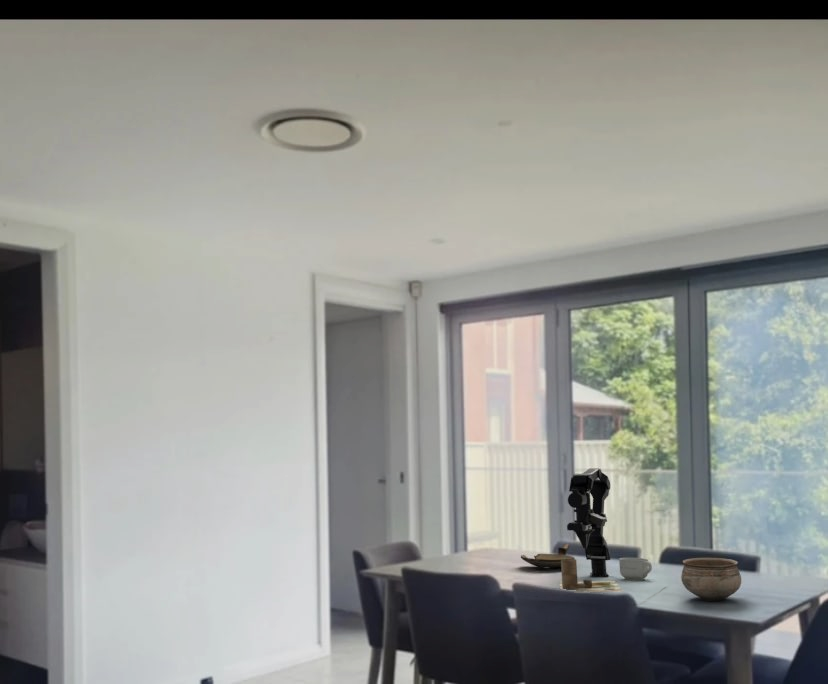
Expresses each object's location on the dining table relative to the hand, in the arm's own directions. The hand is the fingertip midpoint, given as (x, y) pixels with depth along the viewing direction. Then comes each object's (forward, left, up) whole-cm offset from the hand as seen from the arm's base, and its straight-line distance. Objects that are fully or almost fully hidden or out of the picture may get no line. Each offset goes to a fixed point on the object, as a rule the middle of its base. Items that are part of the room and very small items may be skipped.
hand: (585, 548), depth 307 cm
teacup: (-4, +19, -13) cm, 24 cm away
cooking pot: (+33, +38, -13) cm, 52 cm away
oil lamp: (-39, -11, -13) cm, 43 cm away
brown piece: (+15, -1, -12) cm, 19 cm away
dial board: (+13, 0, -13) cm, 18 cm away
